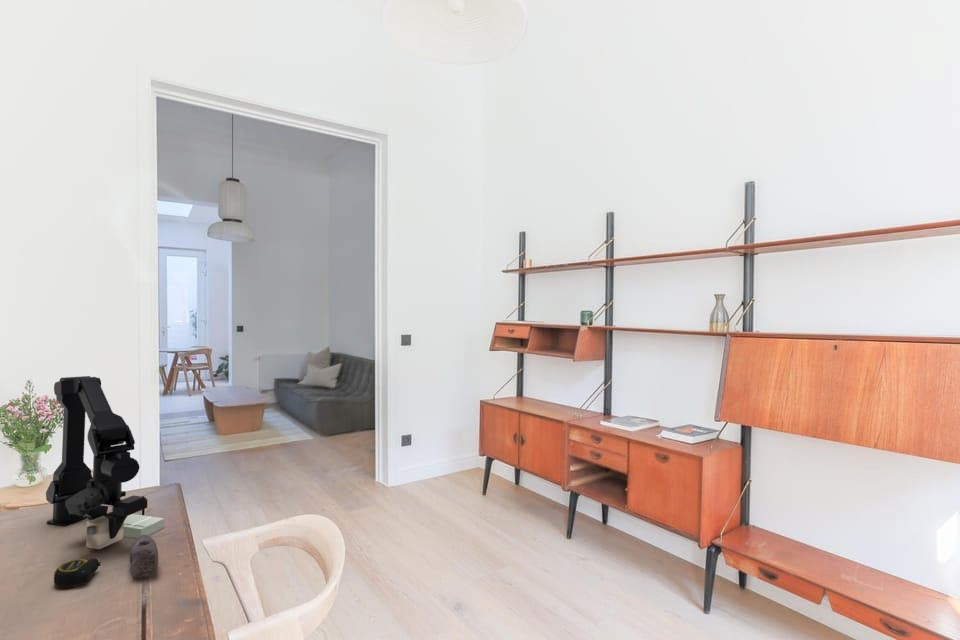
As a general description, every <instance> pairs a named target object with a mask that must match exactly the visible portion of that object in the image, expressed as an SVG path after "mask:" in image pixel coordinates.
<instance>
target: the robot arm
mask: <svg viewBox="0 0 960 640" xmlns="http://www.w3.org/2000/svg"><path fill="white" fill-rule="evenodd" d="M58 380H59V381H55V382H54V384H53V392H54V395H55V398H56V400H55V401H57V402H58V403H59V405H60V407H61V408H62V409H63V418H62V419H63V421H62V444H61V445H62V447H61V462H60V464H59V465H58V466H57V468H56V469H55V471H54V472H53V473H52V474H53V476H52V481H50V483H49V486H48V487H47V489H46V492H45V499H46V502H48V503H50V504H51V505H53V506H52V507H53V508H52V511H53V512H52V519H49V520H47V521H46V524H49V525H50V524H51V525H57V526H61V527H63V526H64V527H66V526H68V525H72V524H73V523H76V522H79V521H82V520H83V519H88V522H89V521H91V520H94V519H96V518H99V517H101V516H105V517H107V518H108V519H109V535H110V539H113V538H115V537H116V535H117V533H118V531H119V530H120V528H121V526H122V524H123V522H124V521H125V519H126V518H127V516H129V515H131V514H135V513H136V514H137V512H140V511H144V510H146V509H147V508H148V500H149V499H148V498H147V497H145V496H140V495H131V496H128V497H126V498H123V499H121V498H122V497H125V496H126V495H127V493H126V491H123V489H122V485H123V483H127V482H129V481H132V479H134V478H135V477H136V476H137V475H138V473H139V471H140V464H139V462H138V460H137V459H135V458H134V457H131V452H130V451H134V450H135V443H136V441H135V438H134V436H133V433H132V430H131V429H130V426H129V424H127V423H126V421H125V419H124V418H123V416H121V415H119V414H116V413H114V412H113V410H112V408H111V405H110V404H109V401H108V400H107V397H106V395H105V392H104V390H103V388H102V380H101V378H100V377H96V376H90V375H85V376H70V377H69V376H67V377H61V378H60V379H58ZM86 415H87V418H88V421H89V423H90V426H89V429H88V432H87V442H88V444H89V445H88V446H89V447H90V449H91V451H92V455H93V462H92V463H93V468H92V470H91V468H90V467H89V466H88V465H87V464H86V463H85V461H84V458H85V456H84V455H85V434H86V433H85V431H86ZM109 507H110V508H111V510H110V512H108V509H109Z"/></svg>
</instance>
